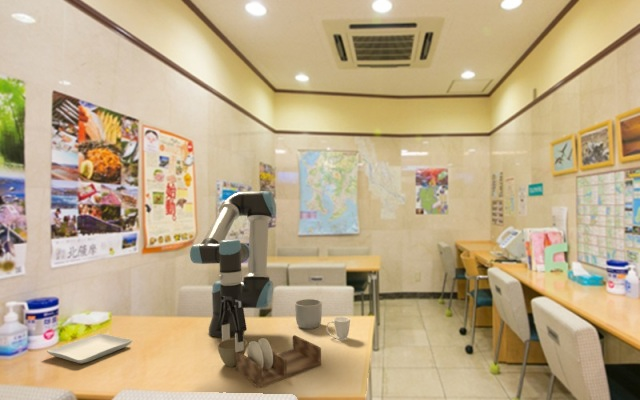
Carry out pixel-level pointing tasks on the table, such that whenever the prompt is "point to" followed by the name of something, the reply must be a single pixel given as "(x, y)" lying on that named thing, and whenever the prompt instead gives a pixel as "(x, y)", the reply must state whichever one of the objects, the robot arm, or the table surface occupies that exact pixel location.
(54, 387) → the table surface
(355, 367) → the table surface
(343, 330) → the cup
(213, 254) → the robot arm
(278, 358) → the rack
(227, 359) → the flower pot
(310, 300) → the planter
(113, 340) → the salad plate
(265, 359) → the plates
